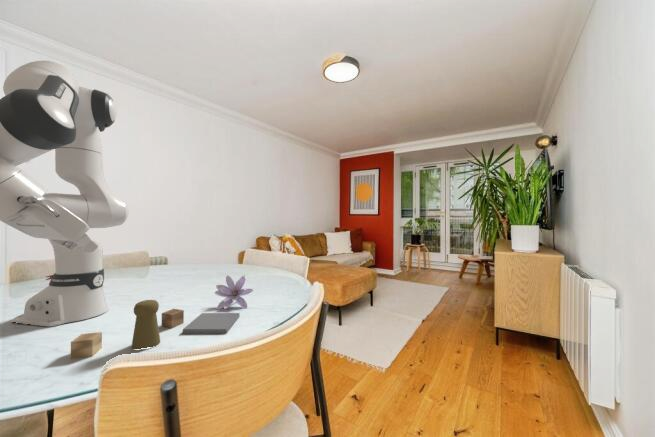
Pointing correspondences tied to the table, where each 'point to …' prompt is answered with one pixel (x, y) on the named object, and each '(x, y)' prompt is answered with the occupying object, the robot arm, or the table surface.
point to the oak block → (86, 345)
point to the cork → (146, 325)
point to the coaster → (212, 323)
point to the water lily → (232, 293)
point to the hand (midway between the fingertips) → (83, 248)
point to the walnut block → (172, 318)
